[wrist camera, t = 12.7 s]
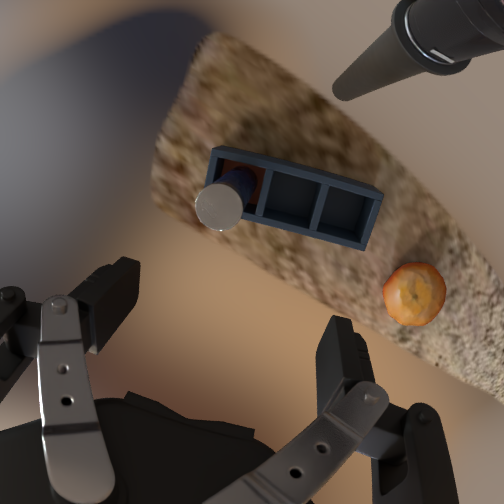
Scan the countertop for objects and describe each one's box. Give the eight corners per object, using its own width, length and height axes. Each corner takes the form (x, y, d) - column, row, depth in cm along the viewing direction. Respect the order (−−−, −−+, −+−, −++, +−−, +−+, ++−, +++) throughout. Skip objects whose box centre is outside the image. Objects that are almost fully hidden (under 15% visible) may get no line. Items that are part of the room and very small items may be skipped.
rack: (221, 145, 35) (211, 148, 31) (374, 186, 35) (384, 194, 31) (210, 199, 38) (200, 208, 34) (357, 237, 37) (364, 251, 33)
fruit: (415, 328, 40) (411, 345, 33) (378, 289, 42) (368, 298, 36) (455, 287, 36) (460, 297, 30) (417, 247, 39) (415, 248, 33)
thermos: (229, 161, 35) (199, 179, 24) (261, 169, 35) (247, 190, 24) (222, 193, 37) (191, 224, 26) (254, 200, 36) (237, 235, 26)
